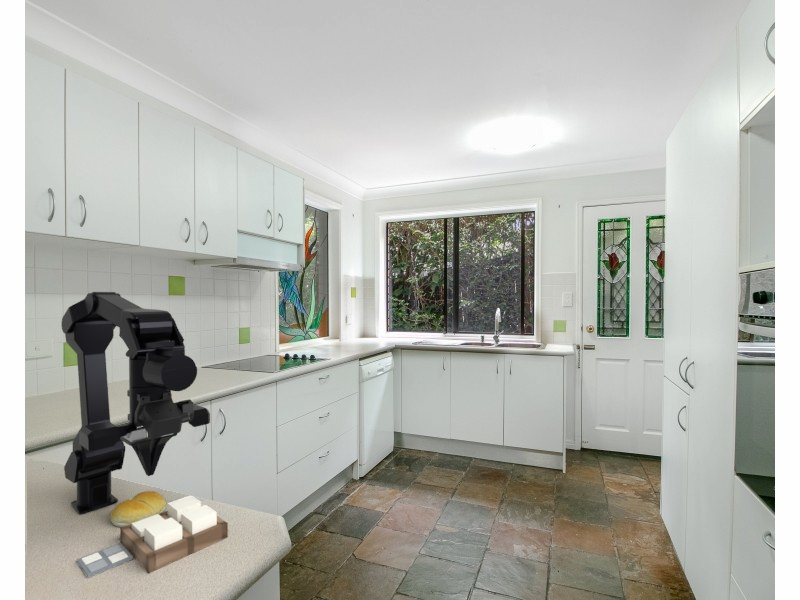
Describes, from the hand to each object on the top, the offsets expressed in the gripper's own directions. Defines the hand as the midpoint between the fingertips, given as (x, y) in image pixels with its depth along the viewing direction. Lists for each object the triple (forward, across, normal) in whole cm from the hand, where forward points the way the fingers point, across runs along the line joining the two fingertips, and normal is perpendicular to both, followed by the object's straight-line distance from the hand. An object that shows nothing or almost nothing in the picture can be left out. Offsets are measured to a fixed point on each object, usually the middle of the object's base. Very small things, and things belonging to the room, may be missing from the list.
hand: (149, 475), depth 73 cm
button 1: (+11, 0, 0) cm, 11 cm away
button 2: (+10, 0, -6) cm, 11 cm away
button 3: (+10, +6, 0) cm, 12 cm away
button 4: (+10, +6, -6) cm, 13 cm away
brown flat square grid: (+12, +3, -3) cm, 12 cm away
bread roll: (+12, +2, +11) cm, 17 cm away
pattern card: (+12, -7, 0) cm, 13 cm away
